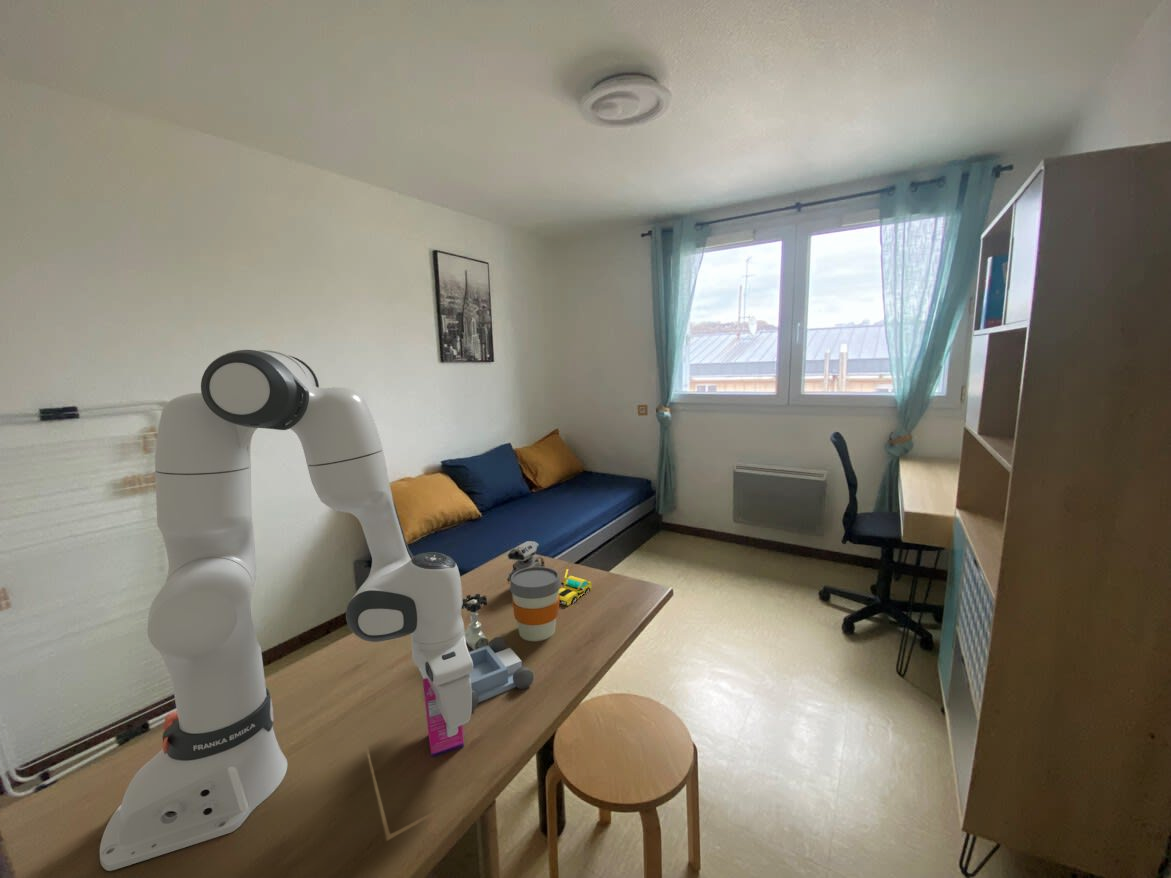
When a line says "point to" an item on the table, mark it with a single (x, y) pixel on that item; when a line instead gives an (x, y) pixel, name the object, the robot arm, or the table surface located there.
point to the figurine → (524, 557)
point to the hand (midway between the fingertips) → (443, 717)
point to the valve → (475, 622)
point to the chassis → (496, 671)
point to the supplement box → (439, 726)
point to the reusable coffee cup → (535, 601)
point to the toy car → (573, 589)
